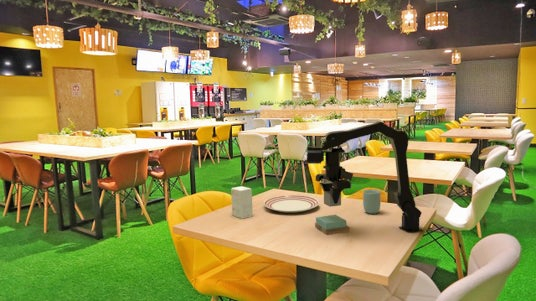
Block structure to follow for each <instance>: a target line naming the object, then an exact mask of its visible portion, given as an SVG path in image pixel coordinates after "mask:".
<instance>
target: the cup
mask: <svg viewBox="0 0 536 301" xmlns="http://www.w3.org/2000/svg"><path fill="white" fill-rule="evenodd" d="M381 194H382V192H381V191H380V190H378V189H364V190H363V191H362V205H363V210H364V212H366V213H367V214H370V215H374V214H378V213H379V211H380V209H381V205H382V204H381V202H382V201H381V200H382V197H381V196H382V195H381Z"/></svg>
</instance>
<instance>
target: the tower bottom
mask: <svg viewBox="0 0 536 301" xmlns="http://www.w3.org/2000/svg"><path fill="white" fill-rule="evenodd" d="M314 228H315V229H317V230H318V231H320V232H322V233H323V234H325V235H335V234H341V233H346V232H350V226H348V225H347V227H341V228H334V229H328V230H326V229H324V228H323V227H321V226H320V225H318V224H317V223H316V222H314Z"/></svg>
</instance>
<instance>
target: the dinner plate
mask: <svg viewBox="0 0 536 301" xmlns="http://www.w3.org/2000/svg"><path fill="white" fill-rule="evenodd" d="M319 205H320V200H318V199H317V198H315V197H313V196H309V195H301V194H285V195H277V196H273V197H272V196H271V197H270V198H267V199H265V200H264V201H263V206H264V207H265V208H268V209H270V210H272V211H276V212H279V213H283V214H284V213H286V214H289V213H290V214H292V213H293V214H295V213H296V214H297V213H303V212H306V211H310V210H312V209H314V208H316V207H318V206H319Z"/></svg>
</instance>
